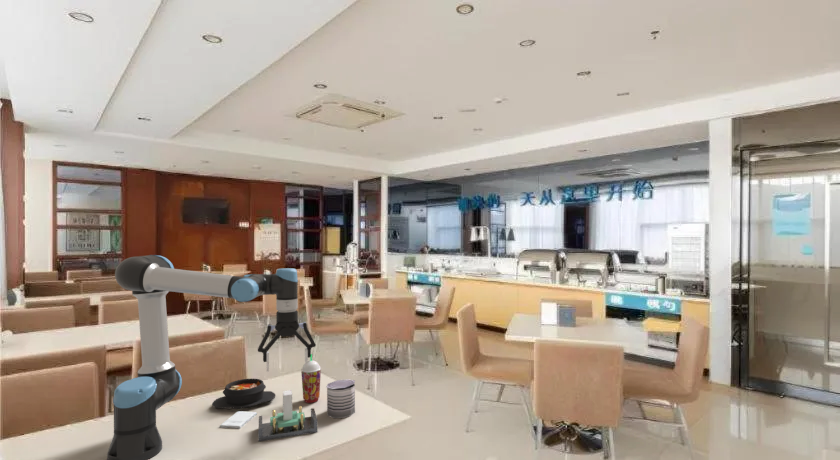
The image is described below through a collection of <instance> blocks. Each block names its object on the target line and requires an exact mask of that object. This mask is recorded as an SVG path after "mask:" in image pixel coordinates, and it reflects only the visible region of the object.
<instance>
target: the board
mask: <svg viewBox="0 0 840 460" xmlns="http://www.w3.org/2000/svg"><path fill="white" fill-rule="evenodd" d="M297 411H298V410H293V392H292V389H288V390H282V412H277V413H276V415H275V417H272V416H270V417H269V418H270V419H269V420H270V421H269V423H270V426H273V418H276V425H278V428H280V427H287V426H293V425H299V422H301V414H303V421H305V417H306V416H305V412H303V411H302V413H299V412H297Z"/></svg>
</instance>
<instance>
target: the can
mask: <svg viewBox="0 0 840 460" xmlns="http://www.w3.org/2000/svg"><path fill="white" fill-rule="evenodd" d="M355 382H356V380H354V379H349V378H346V379H337V380H334V381H332V382H329V383H327V384H326V406H327V407H326V409H327V410H326V413H327V417H330V418H333V419H344V418H349V417H351V416H353V414H355V413H356V385H355Z"/></svg>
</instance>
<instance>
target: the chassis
mask: <svg viewBox="0 0 840 460" xmlns="http://www.w3.org/2000/svg"><path fill="white" fill-rule="evenodd" d="M302 409H303V407H302V406H301V405H299V406H298V413H302V412H303V411H302ZM271 412H272V416H271V417H275V416H276V410H275V409H273V410H272V411H271ZM314 433H318V417H317V414H316V411H315V408H314V407H313V408H311V409H310V416H305V421H303V414H301V422H299V425H293V426H287V427H280V428H278V425H276V418H273V426H270V422H265V423H263V415H259V416H258V442H264V441H271V440H277V439H283V438H288V437H289V438H290V437H295V436H302V435H307V434H314Z"/></svg>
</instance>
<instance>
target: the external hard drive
mask: <svg viewBox="0 0 840 460" xmlns="http://www.w3.org/2000/svg"><path fill="white" fill-rule="evenodd" d="M256 416H257V412H256V411H242V410H241V411H240V410H238V411H236V412H235V413H234V414H232V415H231V416H230V417H229V418H227V419H226V420H225V421H223V422H222V423H221V424H220V425H219V428H222V429H242V428H243V427H244V426H246V424H247V423H248V422H250V421H251V420H252V419H254V418H255V417H256Z"/></svg>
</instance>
